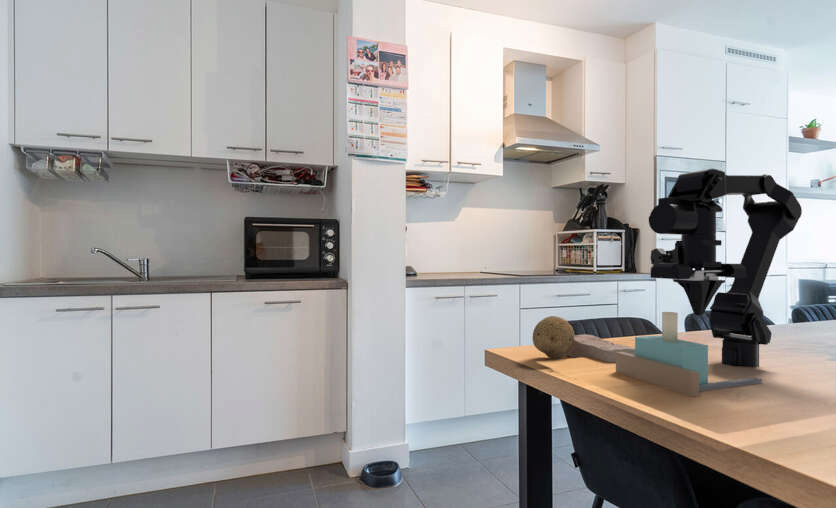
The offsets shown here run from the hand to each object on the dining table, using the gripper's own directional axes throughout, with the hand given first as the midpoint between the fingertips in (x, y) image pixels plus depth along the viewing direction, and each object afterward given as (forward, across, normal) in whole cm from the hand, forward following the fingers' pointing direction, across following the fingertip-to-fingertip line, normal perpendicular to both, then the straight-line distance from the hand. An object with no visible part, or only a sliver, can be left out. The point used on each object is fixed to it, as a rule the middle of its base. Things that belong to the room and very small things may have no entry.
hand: (698, 315), depth 87 cm
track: (+12, +7, +4) cm, 14 cm away
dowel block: (+10, +12, +4) cm, 16 cm away
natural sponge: (+12, +18, -21) cm, 30 cm away
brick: (+13, +8, -18) cm, 24 cm away
